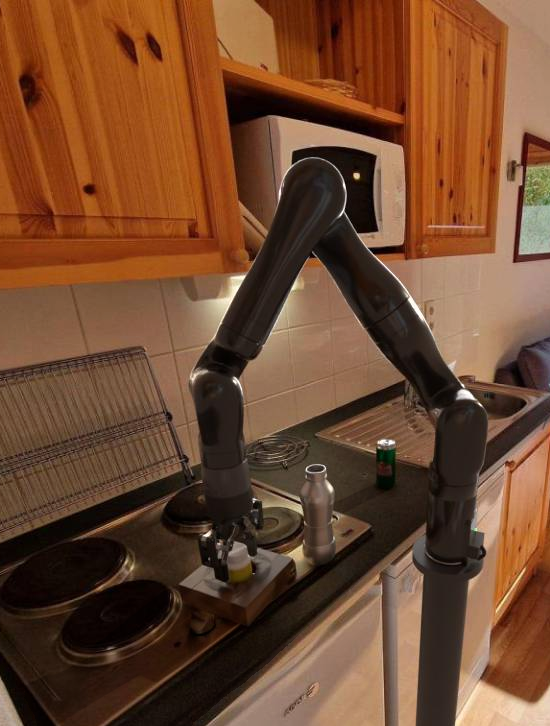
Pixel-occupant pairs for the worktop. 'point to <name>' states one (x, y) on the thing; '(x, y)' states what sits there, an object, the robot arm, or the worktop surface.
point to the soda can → (386, 463)
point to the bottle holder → (238, 588)
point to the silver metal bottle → (317, 516)
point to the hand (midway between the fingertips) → (237, 566)
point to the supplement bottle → (239, 563)
